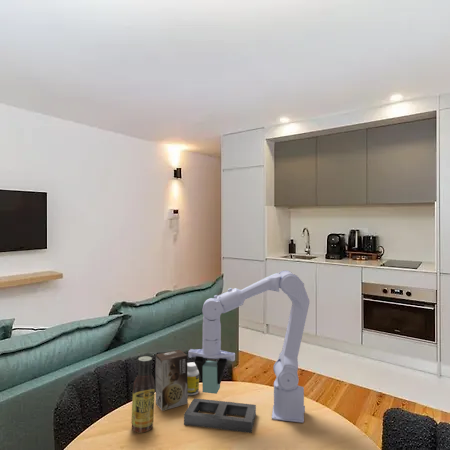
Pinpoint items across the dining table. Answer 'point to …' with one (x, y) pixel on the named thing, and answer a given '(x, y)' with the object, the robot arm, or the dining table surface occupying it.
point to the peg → (210, 377)
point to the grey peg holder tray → (220, 415)
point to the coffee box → (171, 379)
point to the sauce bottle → (143, 397)
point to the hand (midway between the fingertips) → (211, 381)
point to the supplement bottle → (192, 378)
